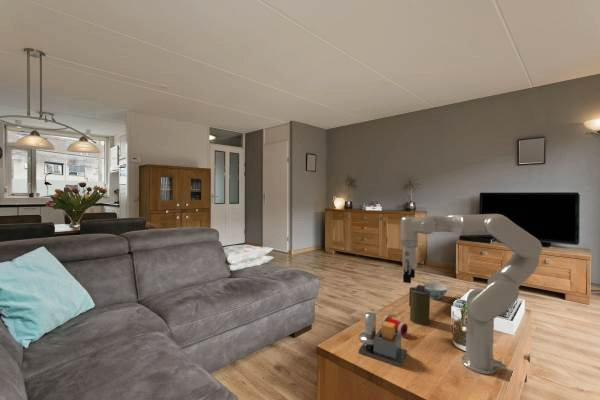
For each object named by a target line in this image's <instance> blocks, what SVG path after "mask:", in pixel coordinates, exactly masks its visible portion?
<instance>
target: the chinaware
mask: <svg viewBox="0 0 600 400" xmlns="http://www.w3.org/2000/svg"><path fill="white" fill-rule="evenodd" d="M423 286H426V287H425V289H428V290H429V291H430V299H432V300H440V299H441V298H443V297H444V296H445V295H446V294H447V291H448V288H447V287H446V286H445V285H442V284H438V283H434V282H433V283H431V282H429V283H424V284H423Z"/></svg>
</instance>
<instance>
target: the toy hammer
mask: <svg viewBox="0 0 600 400" xmlns="http://www.w3.org/2000/svg"><path fill="white" fill-rule="evenodd" d="M385 321H386V322H390V323H394V324H395V333H398V334H402V337H403V336H405V335H406V334H407V333H408V324H407V323H406V322H403V321H402V322H401V321H398V320H396V319H394V318H392V317H391V316H390V315H387V314H386V315H384V316H383V318H382V320H381V325H382V324H383V323H384V322H385Z"/></svg>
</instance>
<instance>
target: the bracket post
mask: <svg viewBox="0 0 600 400" xmlns="http://www.w3.org/2000/svg"><path fill="white" fill-rule="evenodd" d="M376 327H377V314H376V313H375V312H369V311H367V312H365V314H364V331H363V332H359V334H358V340H359V341H360V342H361V344H362V343H363V344H362V345H361V347H359V348H358V354H361V355H363V356H366V357H370V358H371V359H375V360H379V361H381V362H385V363H387V364H391V365H394V366H396V367H399V368H401V367H402V365H403V362H404V360H405V359H406V356H407V355H408V350H407V349H404V348H402V337H403V336H402V334H398V333H397V332H395V339H394V340H393V341H392V340H389V339H385V338H382V328H380V329H379V330H378V331H376V330H377V328H376Z"/></svg>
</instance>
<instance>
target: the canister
mask: <svg viewBox="0 0 600 400" xmlns="http://www.w3.org/2000/svg"><path fill="white" fill-rule="evenodd" d="M423 285H424V284H423ZM423 285H422V284H418V285H416V286H415V287H413V286H411V287H410V288H409V296H408V298H409V299H408V301H409V302H408V303H409V305H408V306H409V307H410V309H409V321H410V322H411V323H414V324H416V325H422V326H425V325H426V326H427V325H429V324H430V310H431V309H430V307H431V298H430V291H429V290H428V289H425V287H426V286H423Z"/></svg>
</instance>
